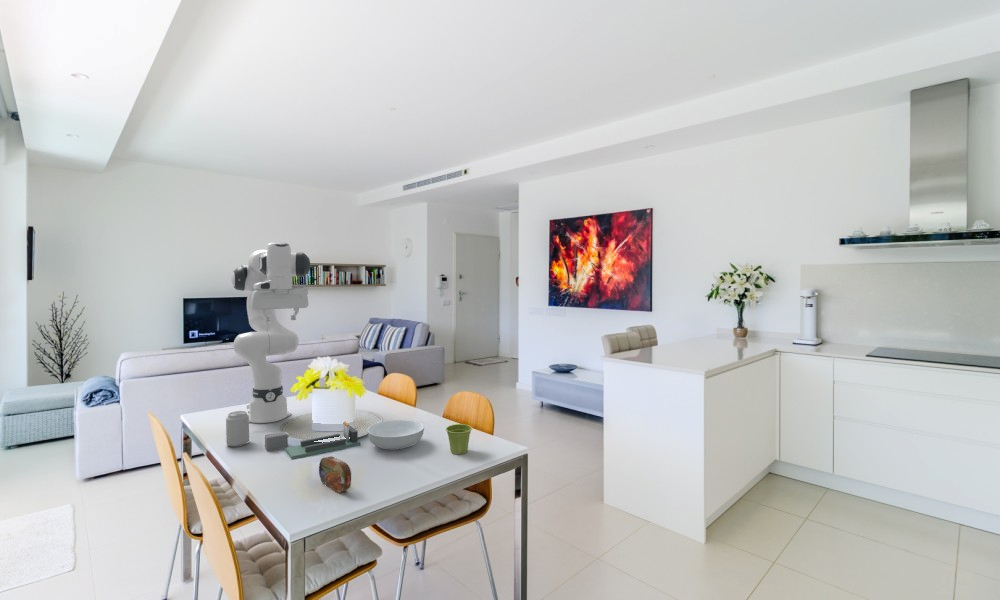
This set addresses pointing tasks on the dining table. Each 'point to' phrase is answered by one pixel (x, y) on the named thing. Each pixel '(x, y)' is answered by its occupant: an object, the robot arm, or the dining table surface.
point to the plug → (276, 441)
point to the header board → (324, 443)
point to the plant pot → (458, 438)
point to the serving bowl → (395, 434)
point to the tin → (335, 474)
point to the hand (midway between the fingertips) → (280, 320)
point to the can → (237, 428)
